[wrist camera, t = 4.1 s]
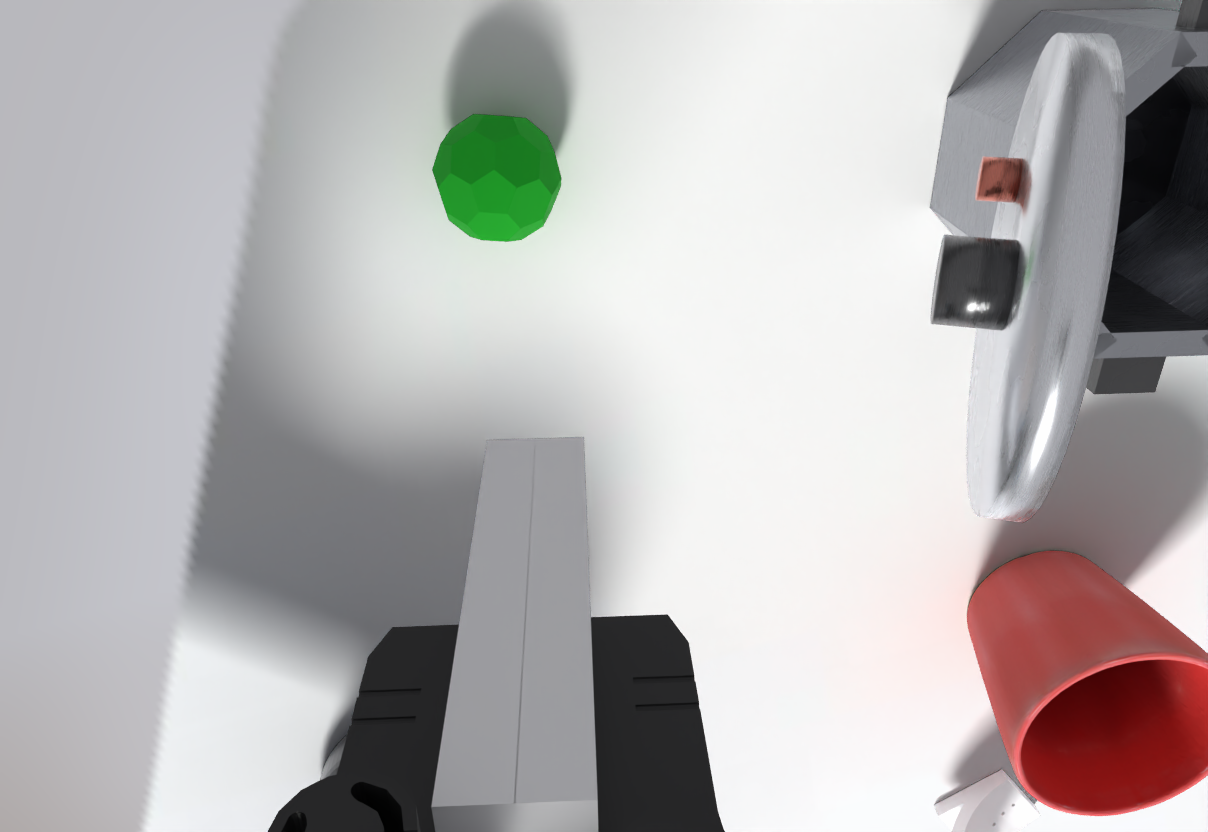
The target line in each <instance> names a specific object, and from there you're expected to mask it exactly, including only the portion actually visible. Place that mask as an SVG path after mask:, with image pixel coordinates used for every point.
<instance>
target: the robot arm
mask: <svg viewBox="0 0 1208 832" xmlns="http://www.w3.org/2000/svg"><path fill="white" fill-rule="evenodd" d="M268 832H725V831H724V829H723V826H722V823H721V820H720V817H719V814H718V810H717V804H716V798H715V793H714V787H713V781H712V775H711V769H710V764H709V758H708V752H707V746H706V741H705V735H704V729H703V723H702V718H701V712H700V709H699V700H698V694H697V689H696V683H695V681H694V671H693V666H692V660H691V654H690V648H689V642H688V641H687V640H686V638H685V637H684V636H683V634H682V633H681V632H680V630H679V629H678V628H677V626H676V625H675V624H674V623H673V621H672V620H671V619H670V617H669V616H668V615H643V616H616V617H591V611H590V585H589V558H588V532H587V505H586V478H585V452H584V437H567V438H535V439H504V440H487V444H486V450H485V457H484V464H483V470H482V477H481V483H480V490H479V497H478V503H477V510H476V516H475V523H474V529H473V536H472V543H471V549H470V556H469V562H468V569H467V576H466V582H465V589H464V595H463V602H462V608H461V615H460V622H459V625H441V626H414V627H392V628H391V630H390V631H389V632H388V633H387V635H386V636H385V637H384V638H383V640H382V641H381V642H380V643H379V644H378V646H377V647H376V648H375V649H374V651H373V652H372V653H371V654H370V655H369V657H368V660H367V664H366V667H365V671H364V675H363V678H362V682H361V686H360V689H359V697H357V701H356V704H355V708H354V712H353V715H352V725H351V726H350V727H349V730H348V734H347V735H346V736H345V737H344V738H343V739H342V740H341V741H340V742H339V743H338V744H337V745H336V747H335V748H334V749H333V750H332V752H331V754H330V755H329V757H328V759H327V761H326V763H325V766H324V768H323V772H322V775H321V779H320V781H318V782H316V783H314V784H312V785H310V786H309V787H307V788H305V789H303V790H301V791H300V792H299V793H298V794H297V795H296V796H295V797H293V798H292V799H291V800H290V801H289V802H288V803H287V804H286V805H285V806H284V807H283V808H282V809H281V810H280V811H279V812H278V814H277V815H276V817H275V819H274V821H273V823H272V825H271V826H270V828H269V830H268Z"/></svg>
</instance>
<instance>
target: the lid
mask: <svg viewBox="0 0 1208 832" xmlns="http://www.w3.org/2000/svg"><path fill="white" fill-rule="evenodd" d="M1125 127H1126V105H1125V83H1124V72H1123V65H1122V60H1121V55H1120V51H1119V49H1118V46H1117V44H1116V41H1115V40H1114V39H1113V38H1112V36H1111V35H1110V34H1104V33H1056V34H1055V35H1054V36H1052V37H1051V39H1050V40H1049V41H1048V43H1047V44H1046V46H1045V48H1044V50H1043V52H1042V53H1041V55H1040V58H1039V60H1038V62H1037V65H1036V67H1035V69H1034V72H1033V75H1032V77H1031V80H1030V83H1029V86H1028V89H1027V92H1026V95H1025V98H1024V101H1023V104H1022V107H1021V111H1020V114H1019V118H1018V121H1017V125H1016V128H1015V132H1014V136H1013V140H1012V144H1011V148H1010V151H1009V156H1008V158H1005V157H984V156H983V157H982V160H981V163H980V168H979V173H978V178H977V185H976V194H975V200H977V201H993V202H998V204H997V209H996V214H995V219H994V224H993V229H992V235H991V238H982V237H968V236H954V235H944V236H943V239H942V243H941V248H940V253H939V258H938V264H937V270H936V276H935V283H934V290H933V298H932V307H931V324H939V325H949V326H959V327H970V328H977V329H976V336H975V344H974V353H973V362H972V372H971V382H970V393H969V406H968V423H967V484H968V493H969V499H970V503H971V507H972V509H973V512H974V513H975V514H976V515H977V516H979V517H986V518H993V519H999V520H1006V521H1012V522H1026V521H1027V520H1029V519H1031V518H1032V517H1033V515H1034V514H1035V513H1036V512H1037V511H1038V510H1039V508H1040V506H1041V505H1042V503H1043V502H1044V500H1045V498H1046V497H1047V495H1048V493H1049V491H1050V489H1051V487H1052V484H1053V482H1054V480H1055V478H1056V476H1057V473H1058V471H1059V468H1060V466H1061V463H1062V461H1063V458H1064V456H1065V453H1066V450H1067V447H1068V444H1069V441H1070V438H1071V436H1072V433H1073V430H1074V427H1075V424H1076V420H1077V417H1078V413H1079V410H1080V406H1081V403H1082V399H1083V396H1084V393H1085V389H1086V385H1087V381H1088V377H1089V373H1090V369H1091V365H1092V361H1093V357H1094V353H1095V348H1096V344H1097V339H1098V334H1099V330H1100V325H1101V320H1102V316H1103V311H1104V305H1105V300H1106V294H1107V289H1108V283H1109V278H1110V272H1111V266H1112V259H1113V253H1114V246H1115V239H1116V233H1117V225H1118V216H1119V208H1120V199H1121V191H1122V178H1123V166H1124V153H1125Z"/></svg>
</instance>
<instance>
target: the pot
mask: <svg viewBox="0 0 1208 832" xmlns="http://www.w3.org/2000/svg"><path fill="white" fill-rule="evenodd" d="M1056 33H1104V34H1110V35H1111V36H1112V38H1113V39H1114V40H1115V41H1116V44H1117V46H1118V49H1119V51H1120V55H1121V60H1122V65H1123V72H1124V83H1125V105H1126V127H1125V153H1124V166H1123V178H1122V191H1121V199H1120V208H1119V216H1118V225H1117V233H1116V239H1115V246H1114V253H1113V259H1112V266H1111V272H1110V278H1109V283H1108V289H1107V294H1106V300H1105V305H1104V311H1103V316H1102V320H1101V325H1100V330H1099V334H1098V339H1097V344H1096V348H1095V353H1094V357H1093V361H1092V365H1091V369H1090V373H1089V377H1088V381H1087V385H1086V388H1087V389H1089V390H1090V391H1091V392H1092V393H1093V394H1115V393H1145V392H1155V390H1156V387H1157V384H1158V381H1159V378H1160V374H1161V371H1162V368H1163V365H1164V362H1165V358H1166V356H1194V355H1208V0H1183V1H1182V4H1181V8H1180V11H1175V10H1167V9H1159V8H1154V9H1105V10H1054V11H1044V10H1042V11H1041V12H1040V13H1039V14H1038V15H1036V16H1035V17H1034V18H1033V19H1032V20H1031V21H1030V22H1029V23H1028V24H1027V25H1026V26H1025V27H1024V28H1022V29H1021V30H1020V31H1019V32H1018V33H1017V34H1016V35H1015V36H1014V37H1013V38H1012V39H1011V40H1010V41H1008V42H1007V43H1006V44H1005V45H1004V46H1003V47H1002V48H1001V49H1000V50H999V51H998V52H997V53H995V54H994V55H993V56H992V57H991V58H990V59H989V60H988V61H987V62H986V63H985V64H984V65H983V66H981V67H980V68H979V69H978V70H977V71H976V72H975V73H974V74H973V75H972V76H971V77H970V78H969V79H967V80H966V81H965V82H964V83H963V84H962V85H961V86H960V87H959V88H958V89H957V90H956V91H955V92H953V93H952V94H951V95H950V96H949V97H948V98H947V106H946V112H945V118H944V124H943V131H942V137H941V143H940V149H939V156H938V162H937V168H936V174H935V181H934V187H933V193H932V199H931V206H930V208H931V209H932V211H933V212H934V213H935V214H936V215H937V216H938V218H939V219H940V220H941V221H942V222H943V223H944V225H945V226H946V227H947V228H948V229H949V230H950V232H951V233H952V234H953V235H954V236H968V237H982V238H991V235H992V229H993V224H994V219H995V214H996V209H997V204H998V202H993V201H977V200H975V194H976V185H977V178H978V173H979V168H980V163H981V160H982V157H983V156H984V157H1005V158H1008V156H1009V151H1010V148H1011V144H1012V140H1013V136H1014V132H1015V128H1016V125H1017V121H1018V118H1019V114H1020V111H1021V107H1022V104H1023V101H1024V98H1025V95H1026V92H1027V89H1028V86H1029V83H1030V80H1031V77H1032V75H1033V72H1034V69H1035V67H1036V65H1037V62H1038V60H1039V58H1040V55H1041V53H1042V52H1043V50H1044V48H1045V46H1046V44H1047V43H1048V41H1049V40H1050V39H1051V37H1052V36H1054V35H1055V34H1056Z"/></svg>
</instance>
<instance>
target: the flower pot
mask: <svg viewBox="0 0 1208 832" xmlns="http://www.w3.org/2000/svg"><path fill="white" fill-rule="evenodd" d="M967 624H968V629H969V633H970V637H971V640H972V643H973V647H974V650H975V654H976V657H977V660H978V664H979V667H980V671H981V674H982V677H983V680H984V684H985V687H986V690H987V693H988V696H989V700H990V703H991V706H992V709H993V712H994V715H995V718H996V721H997V725H998V728H999V731H1000V734H1001V737H1002V740H1003V743H1004V746H1005V749H1006V751H1007V754H1008V757H1009V760H1010V763H1011V765H1012V768H1013V770H1014V773H1015V775H1016V777H1017V778H1018V780H1019V782H1020V783H1021V785H1022V786H1023V787H1024V789H1025V790H1026V791H1027V792H1028V793H1029V794H1030V795H1031V796H1033V797H1034V798H1035V799H1037V800H1038V801H1040V802H1041V803H1043V804H1045V805H1046V806H1049V807H1051V808H1053V809H1056V810H1059V811H1063V812H1067V813H1071V814H1078V815H1089V816H1108V815H1118V814H1123V813H1128V812H1133V811H1137V810H1140V809H1144V808H1147V807H1150V806H1153V805H1156V804H1159V803H1161V802H1164V801H1166V800H1168V799H1170V798H1173V797H1174V796H1176V795H1178V794H1180V793H1182V792H1184V791H1185V790H1187V789H1189V788H1190V787H1192V786H1194V785H1195V784H1197V783H1198V782H1199V781H1201V780H1202V779H1204V778H1205V777H1206V776H1207V775H1208V653H1206V652H1205V651H1204V650H1203V649H1202V648H1201V647H1199V646H1198V645H1197V644H1196V643H1195V642H1193V641H1192V640H1191V639H1190V638H1189V637H1187V636H1186V635H1185V634H1184V633H1183V632H1181V631H1180V630H1179V629H1178V628H1176V627H1175V626H1174V625H1173V624H1171V623H1170V622H1169V621H1168V620H1166V619H1165V618H1164V617H1163V616H1161V615H1160V614H1159V613H1158V612H1157V611H1155V610H1154V609H1153V608H1152V607H1150V606H1149V605H1148V604H1147V603H1145V602H1144V601H1143V600H1142V599H1140V598H1139V597H1138V596H1136V595H1135V594H1134V593H1133V592H1131V591H1130V590H1129V589H1127V588H1126V587H1125V586H1123V585H1122V584H1121V583H1119V582H1118V581H1117V580H1115V579H1114V578H1113V577H1111V576H1110V575H1109V574H1107V573H1106V572H1105V571H1103V570H1102V569H1101V568H1099V567H1098V566H1097V565H1095V564H1094V563H1093V562H1091V561H1090V560H1088V559H1087V558H1085V557H1083V556H1081V555H1078V554H1075V553H1070V552H1065V551H1043V552H1037V553H1033V554H1030V555H1027V556H1024V557H1020V558H1016V559H1014V560H1012V561H1010V562H1008V563H1006V564H1004V565H1002V566H1001V567H999V568H998V569H996V570H995V571H994V572H992V573H991V574H990V575H989V576H988V577H987V578H986V579H985V580H984V581H983V582H982V583H981V584H980V585H979V587H978V588H977V589H976V591H975V592H974V594H973V596H972V598H971V601H970V603H969V607H968V612H967Z"/></svg>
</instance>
